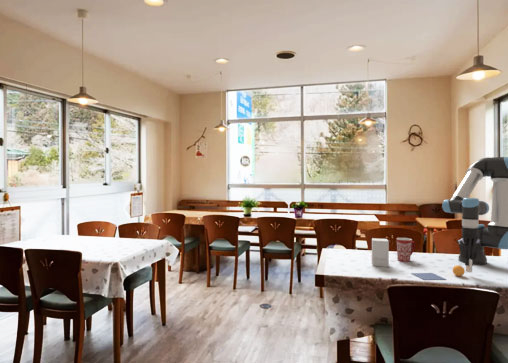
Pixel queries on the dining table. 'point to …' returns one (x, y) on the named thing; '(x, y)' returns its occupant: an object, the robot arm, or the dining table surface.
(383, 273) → the dining table surface
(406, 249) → the mug
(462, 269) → the ball
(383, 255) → the supplement box
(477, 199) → the robot arm
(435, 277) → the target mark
